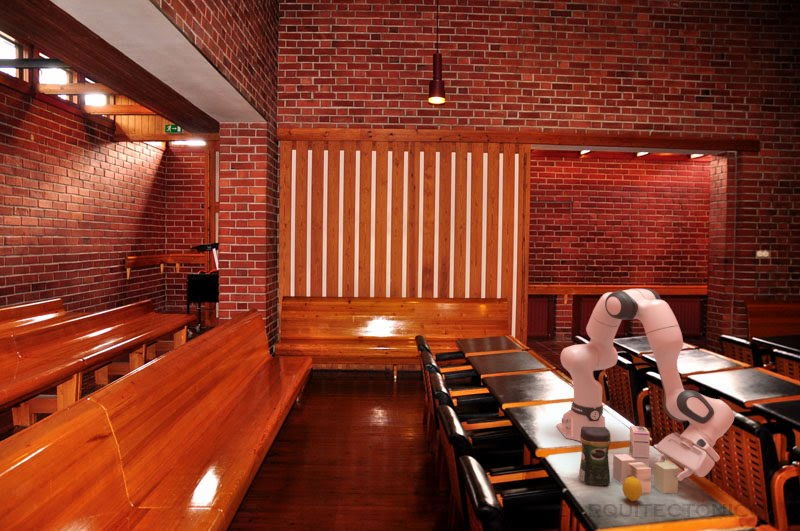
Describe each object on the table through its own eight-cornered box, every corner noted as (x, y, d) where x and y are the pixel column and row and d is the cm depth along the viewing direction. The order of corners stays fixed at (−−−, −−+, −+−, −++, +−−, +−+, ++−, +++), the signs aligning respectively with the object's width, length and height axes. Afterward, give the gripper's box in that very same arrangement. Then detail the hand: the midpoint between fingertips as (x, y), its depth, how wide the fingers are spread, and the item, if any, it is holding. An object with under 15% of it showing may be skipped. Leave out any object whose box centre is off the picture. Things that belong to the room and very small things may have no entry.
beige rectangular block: (653, 486, 178) (654, 462, 177) (667, 485, 178) (668, 461, 178) (663, 493, 173) (664, 469, 172) (677, 492, 173) (678, 468, 173)
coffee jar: (604, 476, 184) (606, 423, 183) (612, 487, 176) (614, 432, 175) (576, 475, 185) (577, 422, 184) (582, 486, 177) (584, 431, 176)
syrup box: (649, 472, 188) (650, 432, 187) (631, 470, 189) (633, 430, 189) (645, 465, 194) (646, 426, 193) (628, 464, 195) (629, 425, 194)
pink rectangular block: (612, 477, 184) (613, 454, 183) (625, 476, 185) (626, 454, 184) (621, 484, 179) (621, 460, 178) (634, 483, 180) (635, 459, 179)
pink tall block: (627, 486, 177) (628, 463, 177) (641, 485, 178) (641, 462, 177) (636, 493, 172) (637, 469, 172) (650, 492, 173) (651, 468, 173)
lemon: (625, 495, 171) (626, 471, 170) (643, 501, 167) (644, 476, 167) (619, 501, 166) (620, 476, 166) (638, 507, 163) (639, 482, 163)
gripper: (668, 424, 186) (642, 453, 185) (712, 447, 166) (683, 480, 165) (679, 436, 187) (653, 465, 186) (724, 460, 167) (695, 493, 166)
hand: (667, 472), depth 175 cm, fingers open, 8 cm apart
